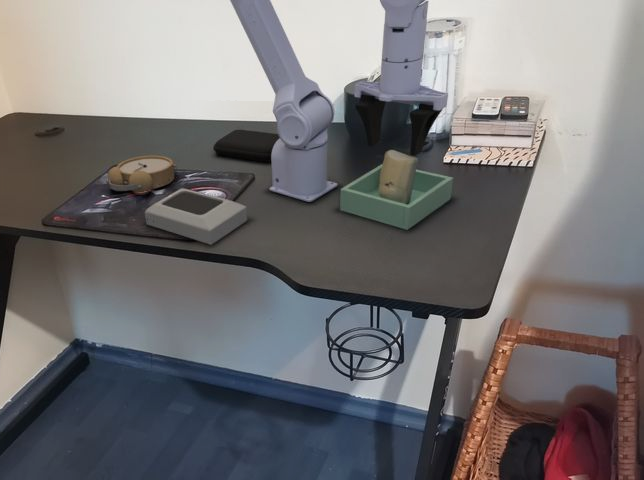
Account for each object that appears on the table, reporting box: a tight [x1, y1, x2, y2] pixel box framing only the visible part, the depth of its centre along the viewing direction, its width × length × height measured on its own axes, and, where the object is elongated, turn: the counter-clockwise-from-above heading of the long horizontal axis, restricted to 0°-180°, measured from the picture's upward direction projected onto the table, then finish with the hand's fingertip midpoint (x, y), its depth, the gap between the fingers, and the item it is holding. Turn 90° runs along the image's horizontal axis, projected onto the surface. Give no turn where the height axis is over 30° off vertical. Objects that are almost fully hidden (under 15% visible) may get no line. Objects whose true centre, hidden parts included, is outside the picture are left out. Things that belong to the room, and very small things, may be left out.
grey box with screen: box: [144, 187, 248, 246], centre depth 108 cm, size 10×4×15 cm
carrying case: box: [213, 129, 280, 163], centre depth 130 cm, size 11×3×15 cm
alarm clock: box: [105, 155, 178, 196], centre depth 124 cm, size 11×5×15 cm
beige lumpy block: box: [379, 149, 419, 205], centre depth 102 cm, size 6×5×8 cm
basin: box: [339, 163, 454, 231], centre depth 103 cm, size 13×13×4 cm
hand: (394, 148), depth 100 cm, fingers open, 7 cm apart
